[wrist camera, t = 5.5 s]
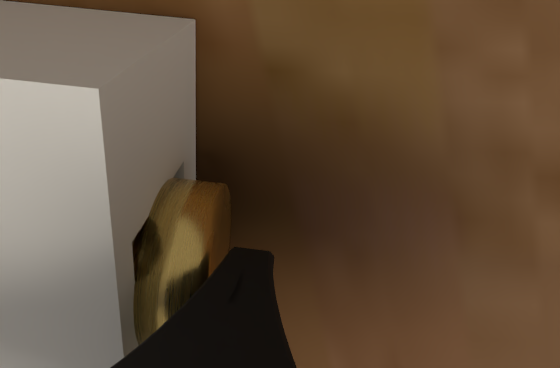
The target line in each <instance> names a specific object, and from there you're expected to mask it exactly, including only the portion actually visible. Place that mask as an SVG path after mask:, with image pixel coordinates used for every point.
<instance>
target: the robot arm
mask: <svg viewBox="0 0 560 368" xmlns="http://www.w3.org/2000/svg"><path fill="white" fill-rule="evenodd" d="M273 264H274V256H273V255H272V253H271V252H270V251H263V250H255V249H247V248H239V247H234V248H233V249H231V250H230V251H229V252H228V253H227V255H226V256H225V258H224V259H223V260H222V261H221V263H220V264H219V265H218V267H217V268H216V269H215V270H214V271H213V273H212V274H211V275H210V276H209V277H208V278H207V280H206V281H205V282H204V283H203V284H202V285H201V286H200V287H199V289H198V290H197V291H196V292H195V293H194V294H193V295H192V296H191V297H190V298H189V299H188V300H187V301H186V303H185V304H184V305H183V306H182V307H181V308H180V309H178V310H177V311H176V312H175V313H174V314H173V315H172V316H171V317H170V318H169V319H168V320H167V321H166V322H165V323H164V324H163V325H162V326H161V327H160V328H158V329H157V330H156V331H155V332H154V333H153V334H152V335H151V336H149V337H148V338H147V339H146V340H145V341H144V342H142V343H141V344H140V345H139V346H138V347H136V348H135V349H134V350H132V351H131V352H130V353H129V354H127V355H126V356H125V357H124V358H122V359H121V360H120V361H118V362H117V363H116V364H114V365H113V366H111V367H110V368H296V365H295V362H294V360H293V357H292V354H291V351H290V348H289V345H288V342H287V339H286V336H285V332H284V329H283V325H282V322H281V317H280V313H279V309H278V305H277V300H276V295H275V288H274V281H273Z"/></svg>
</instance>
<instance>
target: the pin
mask: <svg viewBox="0 0 560 368" xmlns="http://www.w3.org/2000/svg"><path fill="white" fill-rule="evenodd" d="M230 231H231V200H230V193H229V189H228V186H227V185H226V184H224V183H215V182H207V181H198V180H190V179H181V178H171V179H169V180H167V181H166V182H165V183H164V185H163V186H162V187H161V189H160V191H159V192H158V194H157V196H156V198H155V201H154V203H153V205H152V208H151V210H150V213H149V216H148V218H147V219H146V221H145V223H144V224H143V226H142V227H141V229H140V230H139V232H138V234H137V235H136V237H135V238H134V240H133V241H132V250H133V263H134V277H135V286H134V302H133V315H134V328H135V334H136V339H137V342H138V345H140V344H141V343H142V342H144V341H145V340H146V339H147V338H148V337H149V336H151V335H152V334H153V333H154V332H155V331H156V330H157V329H158V328H160V327H161V326H162V325H163V324H164V323H165V322H166V321H167V320H168V319H169V318H170V317H171V316H172V315H173V314H174V313H175V312H176V311H177V310H178V309H180V308H181V307H182V306H183V305H184V304H185V303H186V301H187V300H188V299H189V298H190V297H191V296H192V295H193V294H194V293H195V292H196V291H197V290H198V289H199V287H200V286H201V285H202V284H203V283H204V282H205V281H206V280H207V278H208V277H209V276H210V275H211V274H212V273H213V271H214V270H215V269H216V268H217V267H218V265H219V264H220V263H221V261H222V260H223V259H224V258H225V256H226V255H227V253H228V252H229V244H230Z"/></svg>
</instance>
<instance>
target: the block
mask: <svg viewBox="0 0 560 368" xmlns="http://www.w3.org/2000/svg"><path fill="white" fill-rule="evenodd" d="M171 178H181V179H190V180H196V20H195V19H187V18H177V17H166V16H156V15H146V14H136V13H126V12H115V11H105V10H95V9H85V8H74V7H64V6H54V5H44V4H34V3H23V2H13V1H3V0H0V368H110V367H111V366H113V365H114V364H116V363H117V362H118V361H120V360H121V359H122V358H124V357H125V356H126V355H127V354H129V353H130V352H131V351H132V350H134V349H135V348H136V347H138V346H139V345H138V342H137V339H136V334H135V328H134V315H133V302H134V286H135V277H134V263H133V250H132V241H133V240H134V238H135V237H136V235H137V234H138V232H139V230H140V229H141V227H142V226H143V224H144V223H145V221H146V219H147V218H148V216H149V213H150V210H151V208H152V205H153V203H154V201H155V198H156V196H157V194H158V192H159V191H160V189H161V187H162V186H163V185H164V183H165V182H166V181H167V180H169V179H171Z"/></svg>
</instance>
